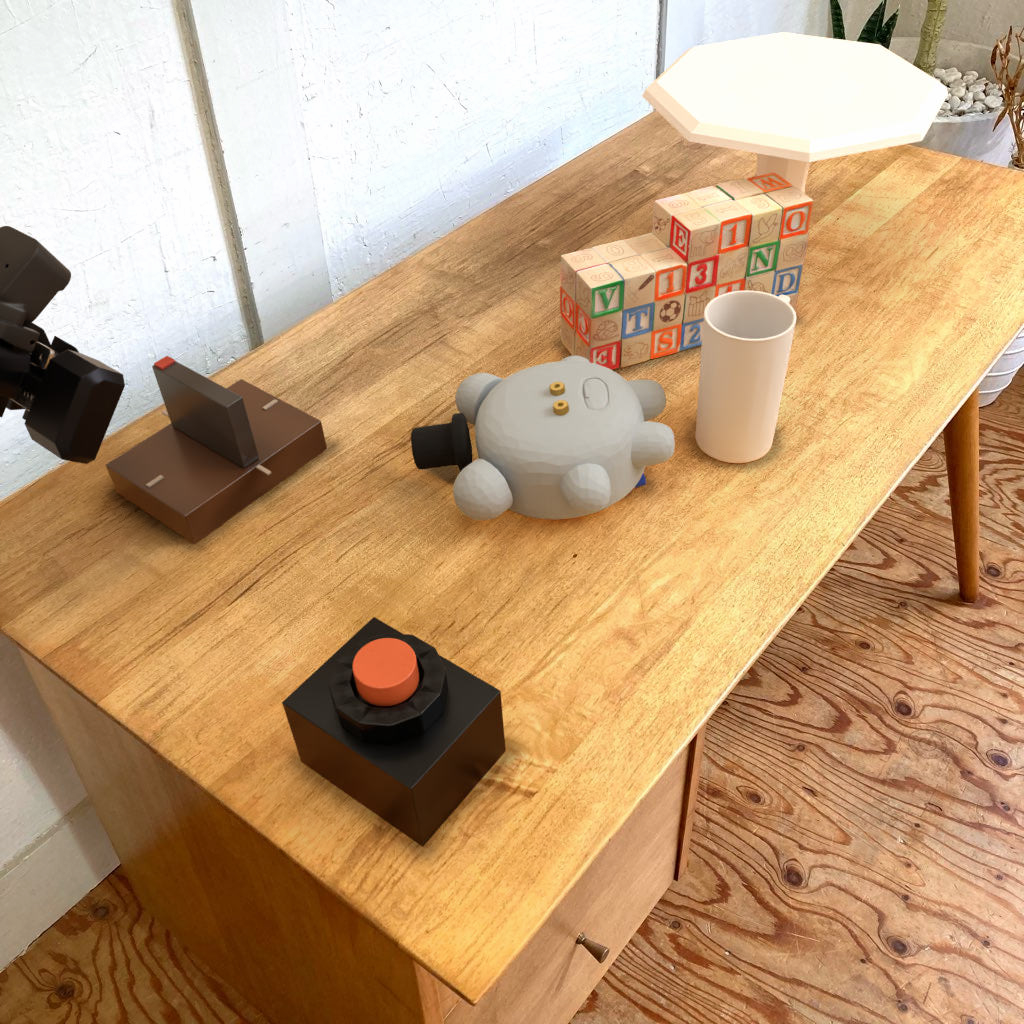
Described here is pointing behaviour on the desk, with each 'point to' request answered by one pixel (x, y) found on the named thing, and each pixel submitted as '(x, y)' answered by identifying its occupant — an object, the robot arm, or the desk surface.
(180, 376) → the dial pointer
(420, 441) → the figurine
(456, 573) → the desk surface
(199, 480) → the dial panel
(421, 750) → the button box
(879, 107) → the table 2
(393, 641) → the button
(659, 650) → the desk surface
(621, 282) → the stack of blocks
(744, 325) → the mug
